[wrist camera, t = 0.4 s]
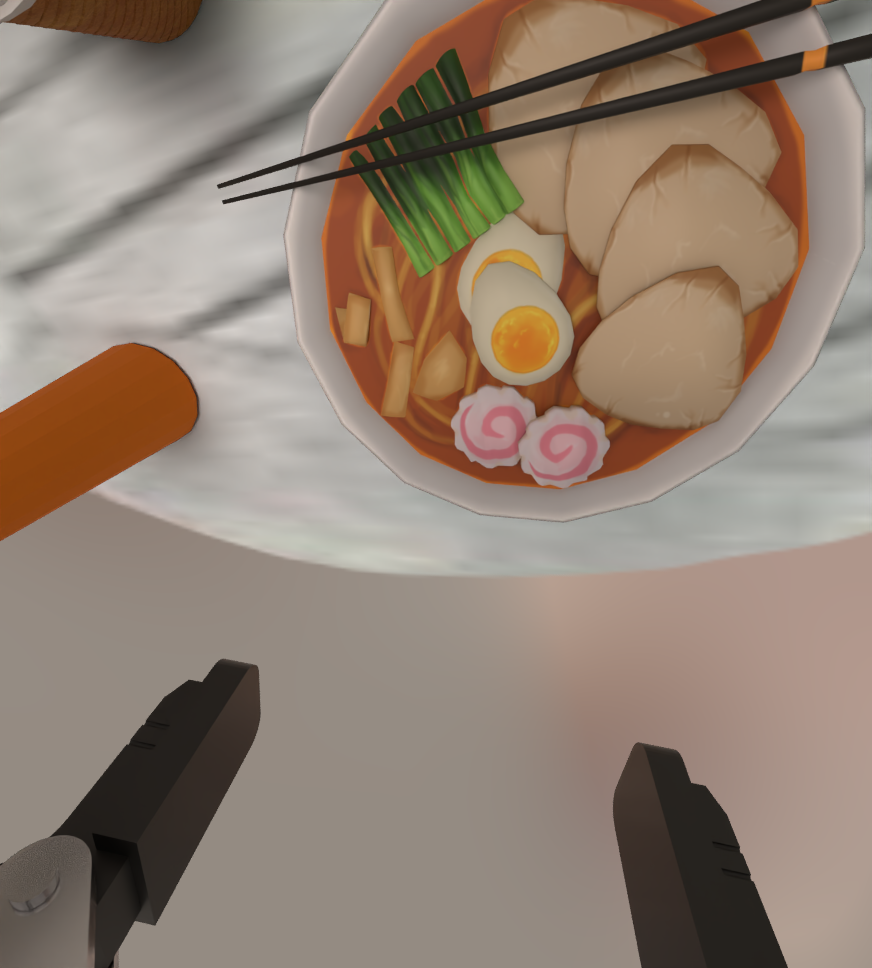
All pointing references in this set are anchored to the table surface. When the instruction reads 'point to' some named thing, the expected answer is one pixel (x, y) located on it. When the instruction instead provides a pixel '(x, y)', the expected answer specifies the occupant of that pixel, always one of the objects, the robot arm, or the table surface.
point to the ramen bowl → (573, 239)
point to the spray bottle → (89, 430)
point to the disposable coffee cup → (106, 17)
